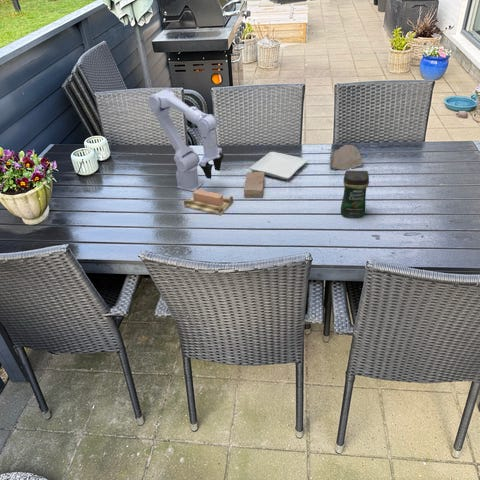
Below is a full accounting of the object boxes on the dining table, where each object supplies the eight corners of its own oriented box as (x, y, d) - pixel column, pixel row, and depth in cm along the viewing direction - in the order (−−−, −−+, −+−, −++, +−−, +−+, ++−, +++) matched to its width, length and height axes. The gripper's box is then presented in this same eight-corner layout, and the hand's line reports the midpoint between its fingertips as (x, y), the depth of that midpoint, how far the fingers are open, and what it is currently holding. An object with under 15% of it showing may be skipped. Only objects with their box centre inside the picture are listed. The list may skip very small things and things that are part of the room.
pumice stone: (330, 170, 211) (332, 151, 205) (328, 163, 217) (329, 144, 211) (363, 169, 210) (365, 149, 204) (360, 162, 216) (362, 142, 210)
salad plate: (309, 164, 218) (309, 158, 216) (288, 184, 204) (288, 177, 202) (270, 156, 228) (270, 150, 225) (248, 174, 213) (248, 168, 211)
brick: (263, 198, 195) (262, 189, 192) (243, 198, 195) (243, 189, 193) (264, 180, 208) (264, 171, 205) (246, 180, 209) (246, 171, 206)
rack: (184, 207, 193) (183, 201, 191) (198, 194, 200) (197, 189, 199) (220, 215, 185) (220, 209, 183) (233, 202, 193) (232, 196, 191)
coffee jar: (340, 218, 178) (344, 176, 167) (340, 207, 184) (343, 167, 173) (366, 219, 176) (371, 177, 165) (364, 208, 183) (369, 167, 172)
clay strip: (194, 201, 194) (192, 192, 191) (197, 198, 196) (196, 189, 193) (220, 207, 188) (219, 198, 186) (223, 203, 191) (222, 194, 188)
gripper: (209, 153, 179) (212, 183, 187) (226, 139, 190) (229, 168, 197) (194, 150, 182) (198, 180, 190) (212, 137, 192) (215, 165, 200)
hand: (213, 174), depth 194 cm, fingers open, 7 cm apart
